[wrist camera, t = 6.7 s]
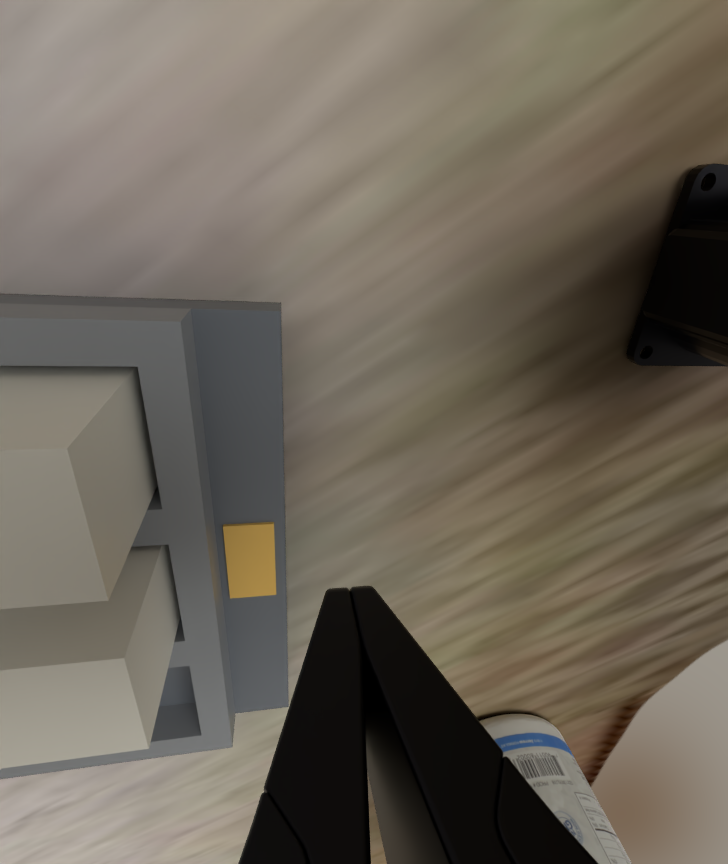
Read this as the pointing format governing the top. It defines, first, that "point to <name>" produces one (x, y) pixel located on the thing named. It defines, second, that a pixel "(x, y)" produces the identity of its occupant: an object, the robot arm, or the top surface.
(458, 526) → the top surface
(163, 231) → the top surface
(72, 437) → the beige grey rectangular block
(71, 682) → the light grey block
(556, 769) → the supplement tub
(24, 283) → the top surface
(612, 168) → the top surface
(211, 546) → the grey compartment tray
